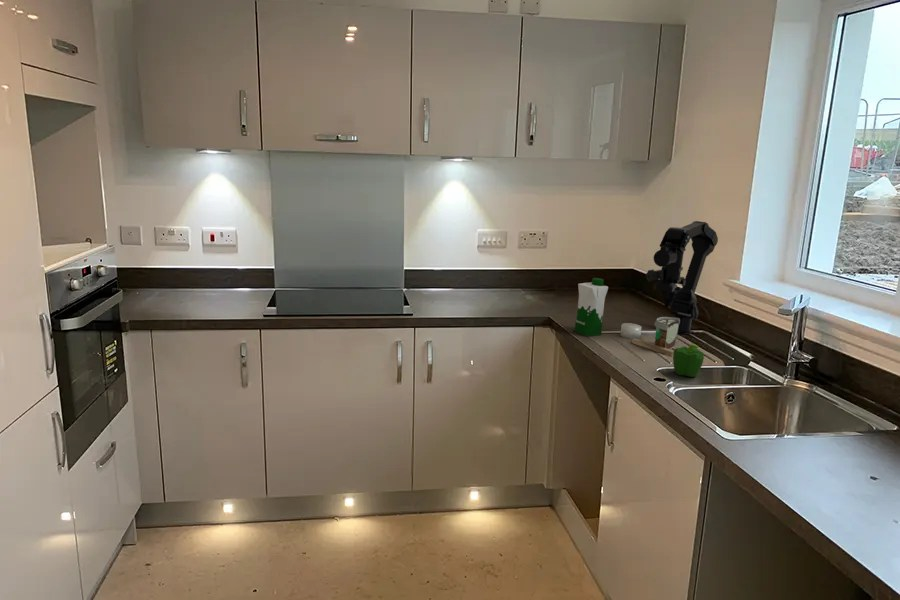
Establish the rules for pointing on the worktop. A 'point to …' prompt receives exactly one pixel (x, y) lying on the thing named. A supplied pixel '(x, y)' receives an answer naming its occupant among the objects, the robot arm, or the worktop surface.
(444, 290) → the worktop surface
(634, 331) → the white domed puck
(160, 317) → the worktop surface
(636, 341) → the oak strip
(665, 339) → the food container
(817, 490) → the worktop surface
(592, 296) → the milk carton
